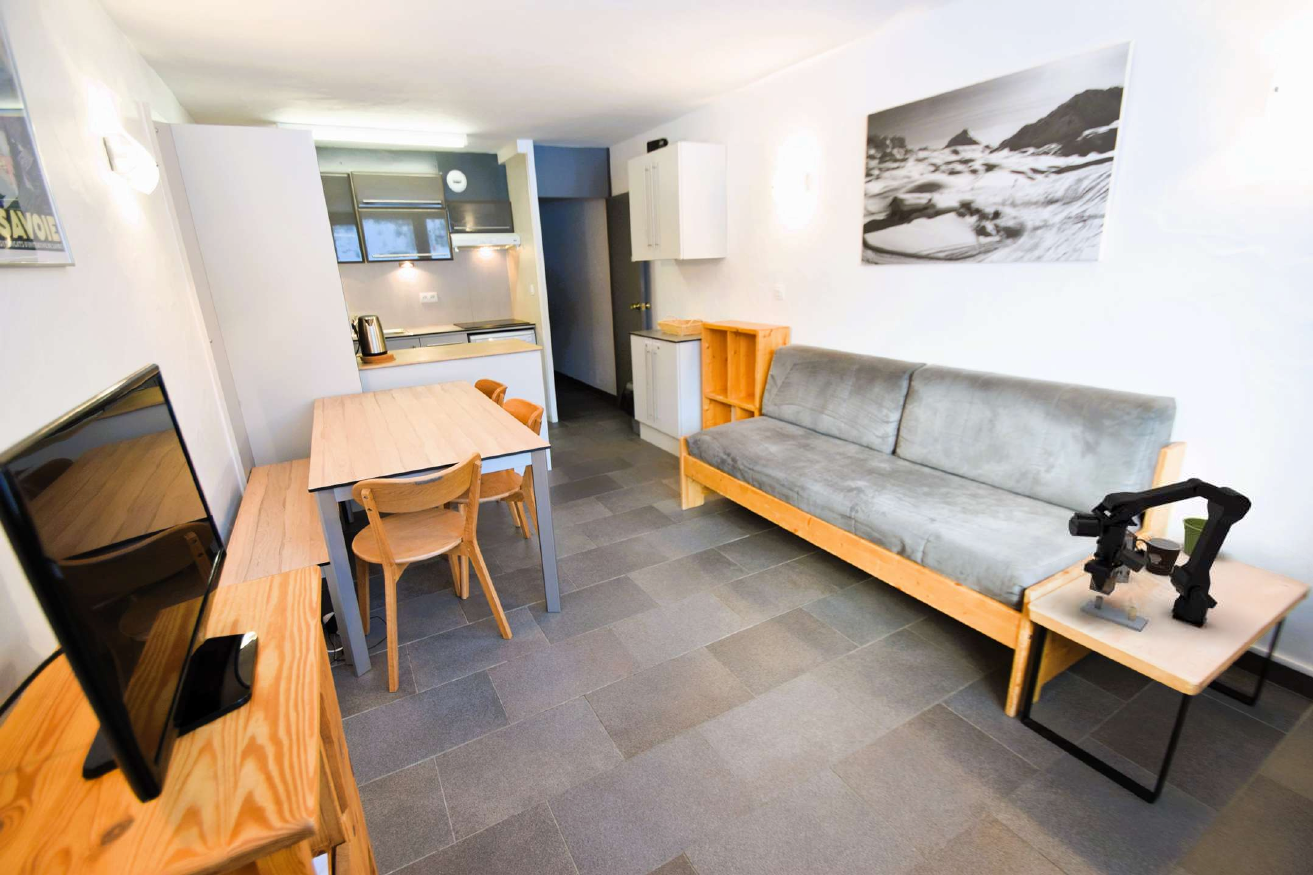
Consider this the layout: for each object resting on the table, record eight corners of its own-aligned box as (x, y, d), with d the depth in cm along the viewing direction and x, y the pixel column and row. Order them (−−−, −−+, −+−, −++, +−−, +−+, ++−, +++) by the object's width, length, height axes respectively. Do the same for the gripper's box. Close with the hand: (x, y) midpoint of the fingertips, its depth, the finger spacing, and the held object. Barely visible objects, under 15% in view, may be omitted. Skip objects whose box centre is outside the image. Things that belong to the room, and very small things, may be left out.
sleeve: (1094, 583, 173) (1097, 568, 172) (1114, 589, 169) (1117, 574, 168) (1089, 588, 170) (1091, 573, 169) (1108, 595, 166) (1112, 580, 165)
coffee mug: (1182, 577, 187) (1189, 549, 184) (1155, 578, 187) (1161, 550, 184) (1153, 559, 198) (1159, 533, 195) (1127, 560, 198) (1133, 533, 195)
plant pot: (1190, 562, 196) (1198, 531, 192) (1167, 546, 207) (1174, 516, 203) (1231, 564, 194) (1239, 533, 190) (1205, 547, 205) (1212, 518, 201)
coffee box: (1129, 583, 185) (1139, 537, 180) (1106, 581, 186) (1115, 535, 182) (1113, 568, 194) (1122, 524, 189) (1091, 567, 195) (1100, 523, 190)
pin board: (1147, 622, 165) (1150, 608, 164) (1140, 632, 161) (1143, 618, 160) (1089, 601, 176) (1091, 588, 175) (1081, 610, 172) (1083, 597, 171)
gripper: (1137, 558, 153) (1126, 610, 158) (1157, 537, 164) (1146, 585, 169) (1087, 544, 162) (1078, 593, 166) (1109, 524, 173) (1100, 571, 177)
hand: (1102, 586), depth 169 cm, fingers closed on sleeve, 5 cm apart
